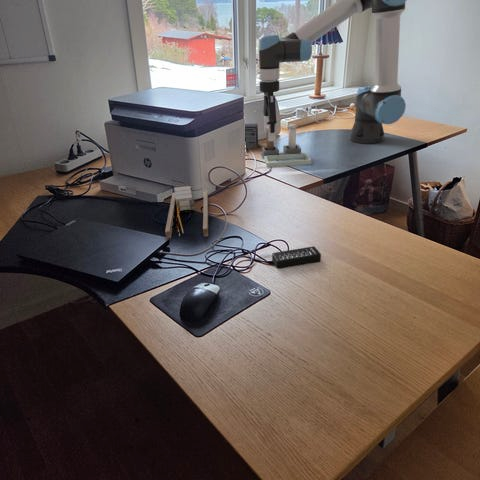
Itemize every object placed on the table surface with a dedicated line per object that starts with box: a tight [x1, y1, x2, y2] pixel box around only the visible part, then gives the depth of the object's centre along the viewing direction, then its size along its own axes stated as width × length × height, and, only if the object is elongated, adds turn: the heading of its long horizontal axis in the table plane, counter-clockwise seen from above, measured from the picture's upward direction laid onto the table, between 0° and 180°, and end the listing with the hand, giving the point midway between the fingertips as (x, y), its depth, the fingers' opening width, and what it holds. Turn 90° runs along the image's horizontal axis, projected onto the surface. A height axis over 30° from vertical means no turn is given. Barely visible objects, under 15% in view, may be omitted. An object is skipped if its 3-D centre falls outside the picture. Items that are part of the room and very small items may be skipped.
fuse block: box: [261, 144, 302, 160], centre depth 173 cm, size 16×7×4 cm, turn 94°
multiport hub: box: [271, 246, 322, 270], centre depth 101 cm, size 4×11×2 cm, turn 103°
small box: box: [244, 123, 259, 149], centre depth 185 cm, size 11×6×10 cm, turn 84°
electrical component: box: [173, 185, 196, 237], centre depth 126 cm, size 24×6×5 cm, turn 10°
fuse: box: [287, 123, 298, 149], centre depth 171 cm, size 3×3×12 cm
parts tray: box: [263, 152, 313, 168], centre depth 165 cm, size 17×9×2 cm, turn 94°
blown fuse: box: [265, 126, 275, 151], centre depth 170 cm, size 3×3×12 cm
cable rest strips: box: [164, 190, 209, 240], centre depth 127 cm, size 11×28×2 cm, turn 4°
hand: (269, 136), depth 169 cm, fingers open, 13 cm apart
